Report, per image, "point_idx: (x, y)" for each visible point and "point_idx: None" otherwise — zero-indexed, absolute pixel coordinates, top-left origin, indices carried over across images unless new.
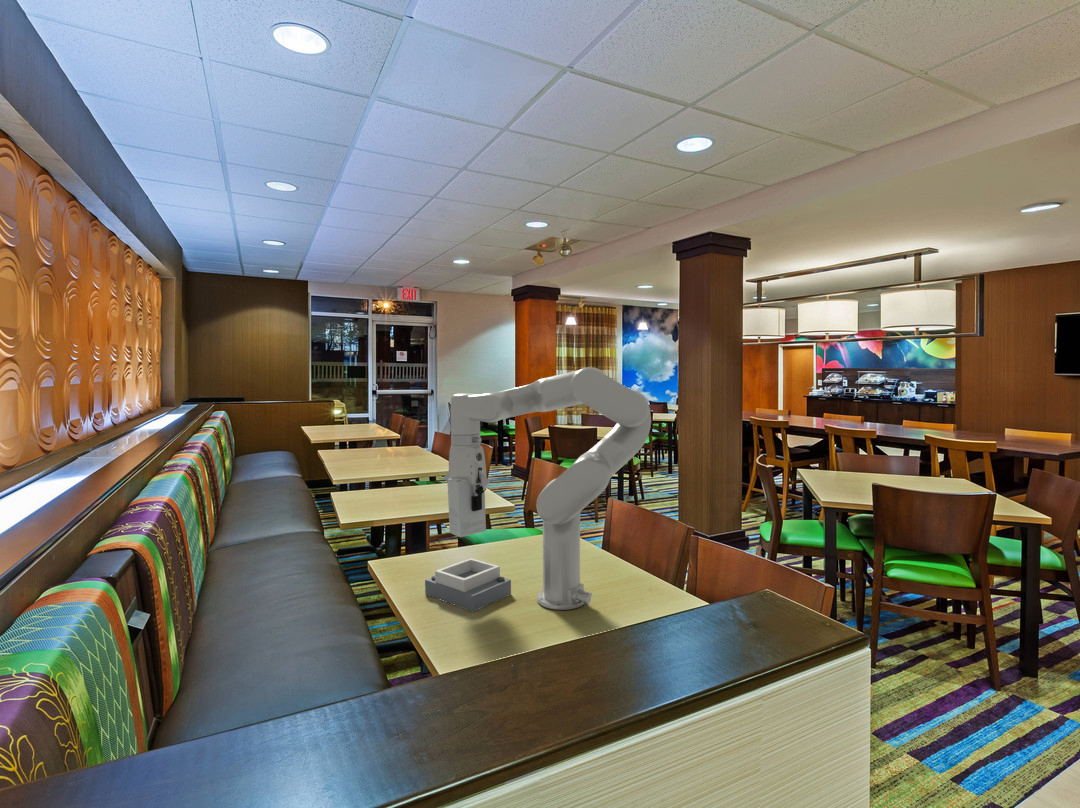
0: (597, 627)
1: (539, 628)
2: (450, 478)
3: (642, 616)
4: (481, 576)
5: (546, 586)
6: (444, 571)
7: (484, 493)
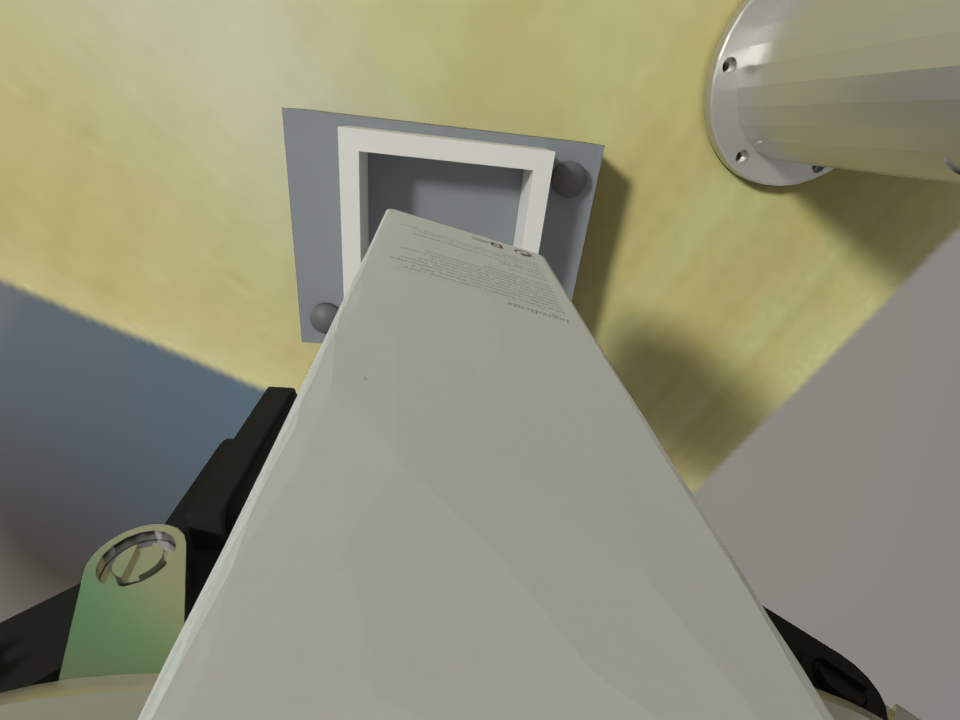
0: (948, 218)
1: (776, 314)
2: None
3: None
4: None
5: (800, 159)
6: None
7: (663, 455)
